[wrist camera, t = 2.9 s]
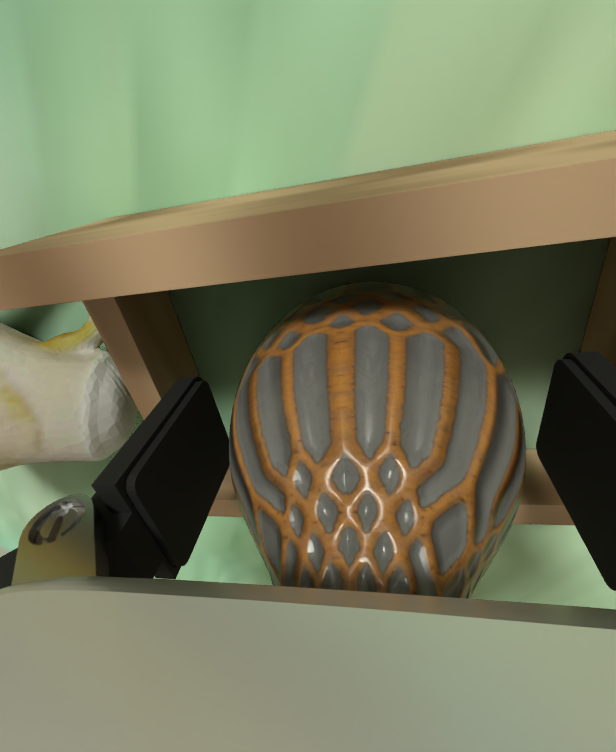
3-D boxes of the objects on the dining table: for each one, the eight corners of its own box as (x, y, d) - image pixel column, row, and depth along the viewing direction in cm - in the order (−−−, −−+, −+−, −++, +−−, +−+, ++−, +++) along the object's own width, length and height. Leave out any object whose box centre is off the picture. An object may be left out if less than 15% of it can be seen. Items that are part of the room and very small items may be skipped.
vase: (302, 440, 15) (237, 721, 8) (241, 283, 12) (24, 519, 4) (480, 419, 13) (617, 765, 6) (470, 225, 10) (763, 469, 2)
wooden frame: (693, 117, 8) (1050, 88, 4) (578, 467, 14) (668, 609, 9) (109, 217, 11) (-49, 263, 7) (214, 469, 17) (163, 576, 13)
